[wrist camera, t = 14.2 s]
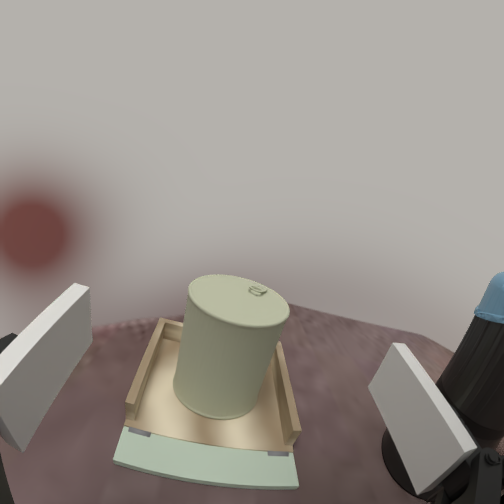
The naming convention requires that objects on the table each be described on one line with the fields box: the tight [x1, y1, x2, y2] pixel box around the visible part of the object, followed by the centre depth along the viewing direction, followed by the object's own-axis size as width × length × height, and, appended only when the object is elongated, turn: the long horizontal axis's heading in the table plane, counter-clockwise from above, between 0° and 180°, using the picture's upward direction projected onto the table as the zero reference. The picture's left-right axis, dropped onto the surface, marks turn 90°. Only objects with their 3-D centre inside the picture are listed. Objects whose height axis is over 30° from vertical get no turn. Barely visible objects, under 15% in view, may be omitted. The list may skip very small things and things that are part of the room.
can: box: [173, 275, 290, 420], centre depth 27 cm, size 9×9×12 cm
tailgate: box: [113, 426, 299, 490], centre depth 20 cm, size 16×4×1 cm, turn 93°
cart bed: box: [124, 318, 302, 453], centre depth 28 cm, size 16×16×4 cm
